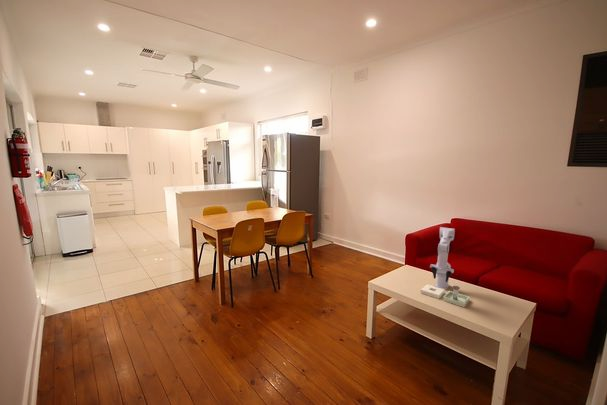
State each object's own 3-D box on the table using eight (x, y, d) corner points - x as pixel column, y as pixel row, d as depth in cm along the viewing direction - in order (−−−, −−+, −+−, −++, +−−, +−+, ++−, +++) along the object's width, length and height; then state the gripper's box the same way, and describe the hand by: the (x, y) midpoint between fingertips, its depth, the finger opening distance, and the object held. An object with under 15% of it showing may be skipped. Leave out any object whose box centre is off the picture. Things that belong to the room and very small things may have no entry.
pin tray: (448, 294, 190) (449, 290, 189) (469, 300, 181) (469, 296, 181) (442, 300, 181) (443, 296, 180) (464, 307, 172) (464, 303, 172)
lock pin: (452, 297, 184) (453, 285, 183) (459, 299, 181) (460, 287, 180) (450, 299, 181) (452, 287, 180) (457, 301, 178) (458, 289, 177)
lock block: (426, 287, 200) (427, 284, 199) (444, 292, 191) (444, 289, 191) (420, 292, 191) (420, 289, 191) (438, 298, 183) (438, 295, 182)
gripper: (429, 259, 188) (427, 278, 190) (452, 264, 178) (450, 284, 180) (432, 257, 193) (431, 275, 195) (455, 262, 183) (453, 281, 185)
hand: (440, 279), depth 188 cm, fingers open, 7 cm apart
